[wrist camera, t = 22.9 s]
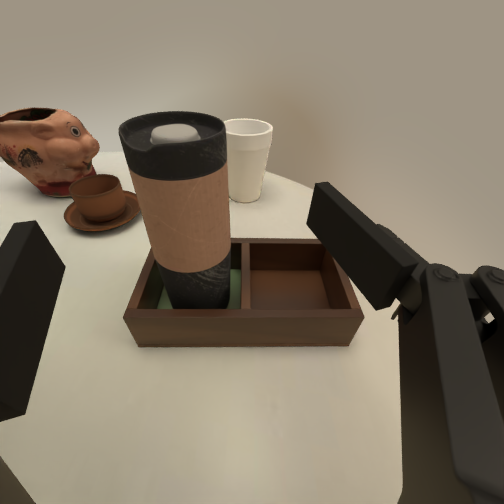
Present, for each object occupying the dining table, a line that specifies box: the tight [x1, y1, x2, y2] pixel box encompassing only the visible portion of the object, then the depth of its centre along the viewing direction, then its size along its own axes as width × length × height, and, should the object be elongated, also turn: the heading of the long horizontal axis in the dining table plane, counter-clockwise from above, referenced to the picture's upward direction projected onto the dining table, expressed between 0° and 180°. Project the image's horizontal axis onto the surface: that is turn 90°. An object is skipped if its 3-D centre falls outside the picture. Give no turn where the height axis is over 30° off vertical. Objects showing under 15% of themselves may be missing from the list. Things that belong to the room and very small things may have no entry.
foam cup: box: [224, 119, 273, 203], centre depth 48 cm, size 10×9×13 cm
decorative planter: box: [0, 108, 100, 197], centre depth 47 cm, size 20×12×14 cm, turn 97°
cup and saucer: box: [64, 174, 140, 231], centre depth 43 cm, size 12×12×6 cm
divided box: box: [123, 238, 364, 347], centre depth 31 cm, size 12×23×6 cm, turn 91°
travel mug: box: [119, 111, 231, 309], centre depth 25 cm, size 8×8×20 cm
